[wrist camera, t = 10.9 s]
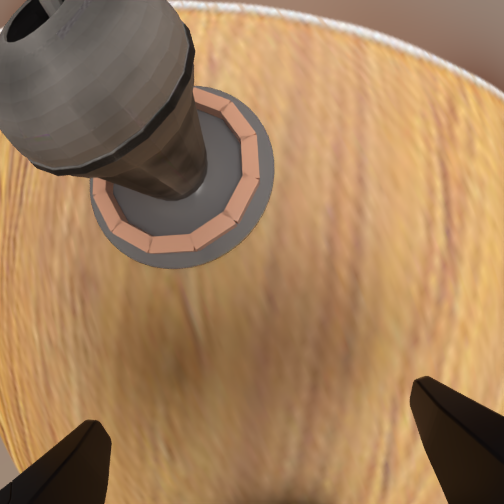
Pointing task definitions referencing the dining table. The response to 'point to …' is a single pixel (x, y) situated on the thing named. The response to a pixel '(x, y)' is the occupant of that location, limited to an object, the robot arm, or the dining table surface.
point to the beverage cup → (104, 93)
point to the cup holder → (196, 194)
